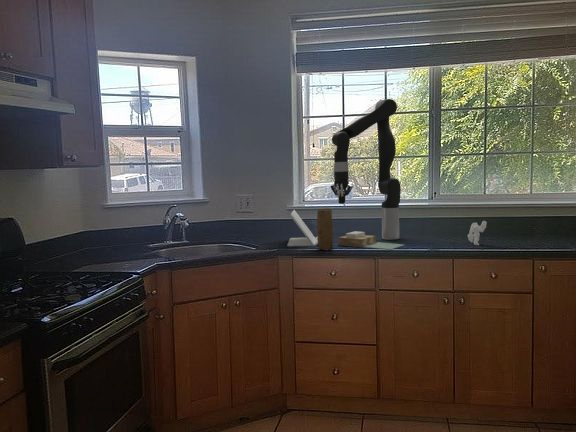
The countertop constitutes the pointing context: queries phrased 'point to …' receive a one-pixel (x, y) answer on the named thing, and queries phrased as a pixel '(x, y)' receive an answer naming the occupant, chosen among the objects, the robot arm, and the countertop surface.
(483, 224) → the figurine
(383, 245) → the mat
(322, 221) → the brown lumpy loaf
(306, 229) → the tablet stand
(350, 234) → the pale grey rectangular block
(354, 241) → the board
